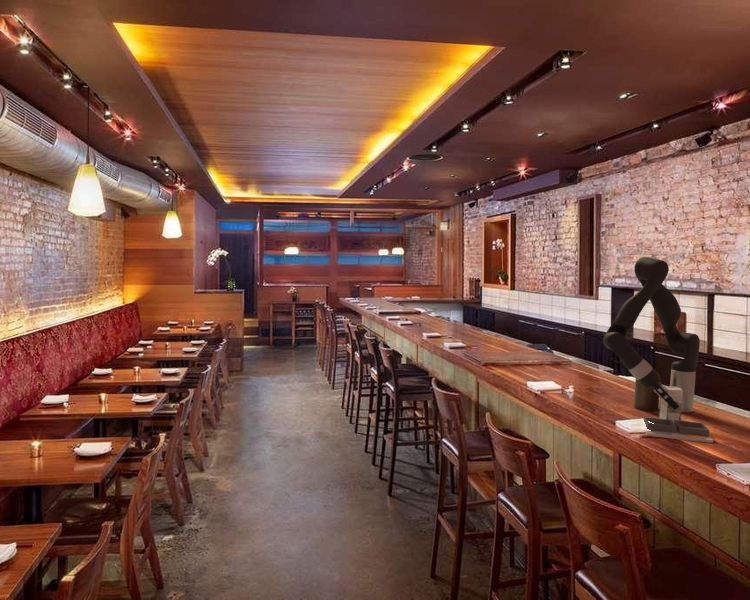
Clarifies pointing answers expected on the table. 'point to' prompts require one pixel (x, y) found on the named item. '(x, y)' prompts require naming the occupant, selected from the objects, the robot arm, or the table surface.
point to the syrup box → (666, 409)
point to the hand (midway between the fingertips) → (674, 405)
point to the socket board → (677, 429)
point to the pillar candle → (645, 398)
